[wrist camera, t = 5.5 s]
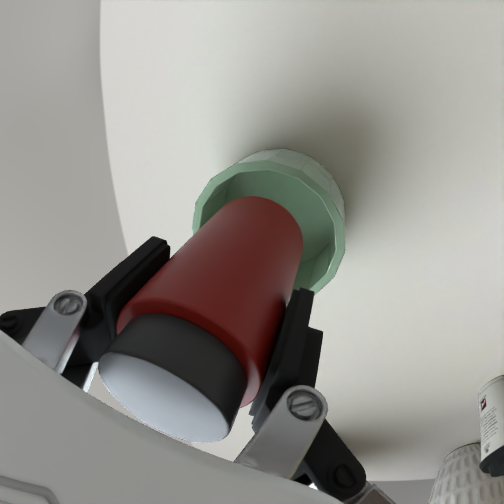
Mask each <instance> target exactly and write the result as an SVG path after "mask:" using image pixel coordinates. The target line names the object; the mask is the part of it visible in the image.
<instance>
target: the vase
mask: <svg viewBox="0 0 504 504" xmlns="http://www.w3.org/2000/svg"><path fill="white" fill-rule="evenodd" d="M480 463H481V444H478V443H476V444H470V445H466V446H463V447H461V448H458V449H456V450H455V451H453V452H452V453H450V454H449V455H448V456H447V457H446V459H445V461H444V463H443V465H442V467H441V469H440V471H439V473H438V475H437V478H436V480H435V483H434V485H433V488H432V491H431V494H430V497H429V501H428V504H504V476H499V477H491V475H490V473H489V474H487V473H483V472H482V471H481V469H480V468H479V465H480Z"/></svg>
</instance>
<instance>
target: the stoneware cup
mask: <svg viewBox="0 0 504 504" xmlns="http://www.w3.org/2000/svg"><path fill="white" fill-rule="evenodd" d="M246 196H257V197H263V198H267V199H270V200H272V201H274V202H276V203H278V204H280V205H281V206H283V207H284V208H285V209H286V210H287V211H289V212H290V214H291V215H292V216H293V217H294V219H295V220H296V222H297V223H298V225H299V227H300V230H301V233H302V237H303V252H302V256H301V259H300V263H299V267H298V270H297V274H296V277H295V281H294V284H293V288H292V291H291V295H292V292H293V289H296V290H299V289H300V287H302V288H305V289H308V290H311V291H314V295H315V294H316V293H317V292H319V291H320V290H321V289H322V288H323V287H324V286H325V285H326V284H327V283H329V282H330V281H331V280H332V279H333V278H334V277H335V274H336V272H337V270H338V267H339V265H340V263H341V260H342V258H343V255H344V253H345V209H344V199H343V196H342V194H341V192H340V189H339V187H338V185H337V183H336V182H335V180H334V178H333V177H332V175H331V174H330V173H329V172H328V171H327V170H326V169H325V168H324V167H323V166H322V165H321V164H320V163H318V162H317V161H315V160H314V159H312V158H310V157H308V156H307V155H304V154H302V153H299V152H296V151H291V150H285V149H271V150H265V151H260V152H255V153H254V154H252V155H250V156H248V157H246V158H245V159H243V160H241V161H239V162H238V163H236V164H234V165H233V166H231V167H229V168H228V169H226V170H224V171H223V172H221V173H220V174H218V175H216V176H215V177H213V178H212V179H211V180H210V181H209V182H208V184H207V185H206V187H205V188H204V190H203V192H202V193H201V195H200V196H199V198H198V199H197V201H196V203H195V209H194V216H193V224H192V233H193V235H194V234H195V233H196V232H197V231H198V230H199V229H200V228H201V227H202V226H203V225H204V224H205V223H207V222H208V221H209V220H210V219H211V218H212V217H213V216H214V215H215V214H216V213H217V212H218V211H219V210H220V209H221V208H222V207H223V206H224V205H225V204H227V203H229V202H230V201H232V200H234V199H237V198H240V197H246ZM291 295H290V297H291ZM289 300H290V298H289Z"/></svg>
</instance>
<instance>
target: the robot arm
mask: <svg viewBox="0 0 504 504" xmlns="http://www.w3.org/2000/svg"><path fill="white" fill-rule="evenodd" d="M169 259H170V246H169V245H167V241H166V240H163V239H160V238H158V237H155V236H153V237H151V238H150V239H149V240H147V241H146V242H145V243H144V244H142V245H141V246H140V247H139V248H138V249H137V250H135V251H134V252H133V253H132V254H131V255H129V256H128V257H127V258H126V259H125V260H123V261H122V262H121V263H119V264H118V265H117V266H116V267H115V268H113V269H112V270H111V271H110V272H109V273H108V274H107V275H105V276H104V277H103V278H102V279H101V280H100V281H99V282H98V283H96V285H94V286H93V287H92V288H91V289H90V290H89V291H88V292H87V293H85V294H84V295H83V294H82V293H80V292H78V291H74V290H66V291H62V292H60V293H58V294H56V295H55V296H54V297H53V298H52V299H51V301H50V302H49V304H48V305H47V307H39V308H30V309H22V310H13V311H8V312H6V313H3V314H2V315H1V316H0V504H396V503H395V502H393V501H392V500H391V499H390V498H389V497H388V496H387V495H386V494H385V493H384V492H383V491H382V490H381V489H379V488H378V487H377V486H376V485H375V484H372V485H371V484H370V483H369V482H368V481H367V480H366V474H365V470H364V468H363V467H362V465H361V464H360V462H359V461H358V460H357V459H356V457H355V456H354V455H353V454H352V452H351V451H350V450H349V449H348V447H347V446H346V445H345V443H344V442H343V441H342V440H341V438H340V437H339V436H338V435H337V433H336V432H335V431H334V429H333V428H332V427H331V425H330V424H329V423H328V422H327V420H326V419H325V417H326V415H327V412H328V404H327V402H326V399H325V397H324V396H323V395H322V394H321V393H320V392H319V391H317V390H316V389H315V383H316V377H317V371H318V365H319V358H320V352H321V345H322V338H323V331H320V330H317V329H314V328H310V327H308V324H309V319H310V314H311V309H312V304H313V298H314V291H311V290H308V289H305V288H302V287H300V289H299V290H296V289H293V292H292V295H291V297H290V300H289V302H288V305H287V308H286V311H285V314H284V317H283V321H282V324H281V327H280V330H279V334H278V337H277V340H276V343H275V347H274V350H273V353H272V356H271V359H270V362H269V365H268V368H267V371H266V374H265V377H264V380H263V384H262V386H261V388H260V391H259V393H258V395H257V397H256V398H255V399H254V400H253V403H252V406H251V409H250V411H249V415H251V416H254V418H253V421H252V423H251V424H253V426H252V429H253V431H254V432H255V435H254V436H253V437H252V439H251V440H250V441H249V442H248V444H247V445H246V446H245V448H244V449H243V450H242V452H241V453H240V454H239V455H238V457H237V458H236V459H235V460H234V462H231V461H228V460H226V459H223V458H220V457H217V456H215V455H212V454H209V453H207V452H204V451H201V450H199V449H196V448H194V447H191V446H188V445H187V444H184V443H182V442H180V441H177V440H175V439H173V438H171V437H168V436H166V435H164V434H162V433H160V432H158V431H155V430H154V429H151V428H149V427H147V426H145V425H143V424H141V423H139V422H138V421H135V420H134V419H131V418H130V417H128V416H126V415H124V414H122V413H120V412H119V411H117V410H115V409H113V408H112V407H110V406H108V405H106V404H105V403H103V402H101V401H100V400H98V399H96V398H95V397H93V396H91V395H90V394H88V393H87V392H88V390H89V387H90V384H91V382H92V379H93V377H94V374H95V372H96V369H97V367H98V362H99V358H100V356H101V355H102V353H103V352H104V351H105V350H106V349H107V347H108V346H109V345H110V344H111V343H112V341H113V340H114V339H115V338H116V337H117V330H116V325H117V319H118V316H119V313H120V312H121V310H122V308H123V307H124V306H125V305H126V304H127V303H128V302H129V301H130V300H131V299H132V298H133V297H134V296H135V295H136V293H137V292H138V291H139V290H140V289H141V288H142V287H143V286H144V285H145V284H146V283H147V282H148V281H149V280H150V279H151V278H152V277H153V276H154V275H155V274H156V273H157V272H158V270H159V269H160V268H161V267H162V266H163V265H164V264H165V263H166V262H167V261H168V260H169Z"/></svg>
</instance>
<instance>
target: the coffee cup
mask: <svg viewBox="0 0 504 504" xmlns="http://www.w3.org/2000/svg"><path fill="white" fill-rule="evenodd" d="M478 400H479V412H480V429H481V463H480V465H479V468H480V469H481V471H482V472H483V473H487V474H489V473H490V475H491V477H499V476H504V375H503V376H499V377H497V378H494V379H493V380H491V381H489V382H488V383H487V384H486V385H485V386H484V387H483V388H482V389H481V390H480V392H479V394H478Z"/></svg>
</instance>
